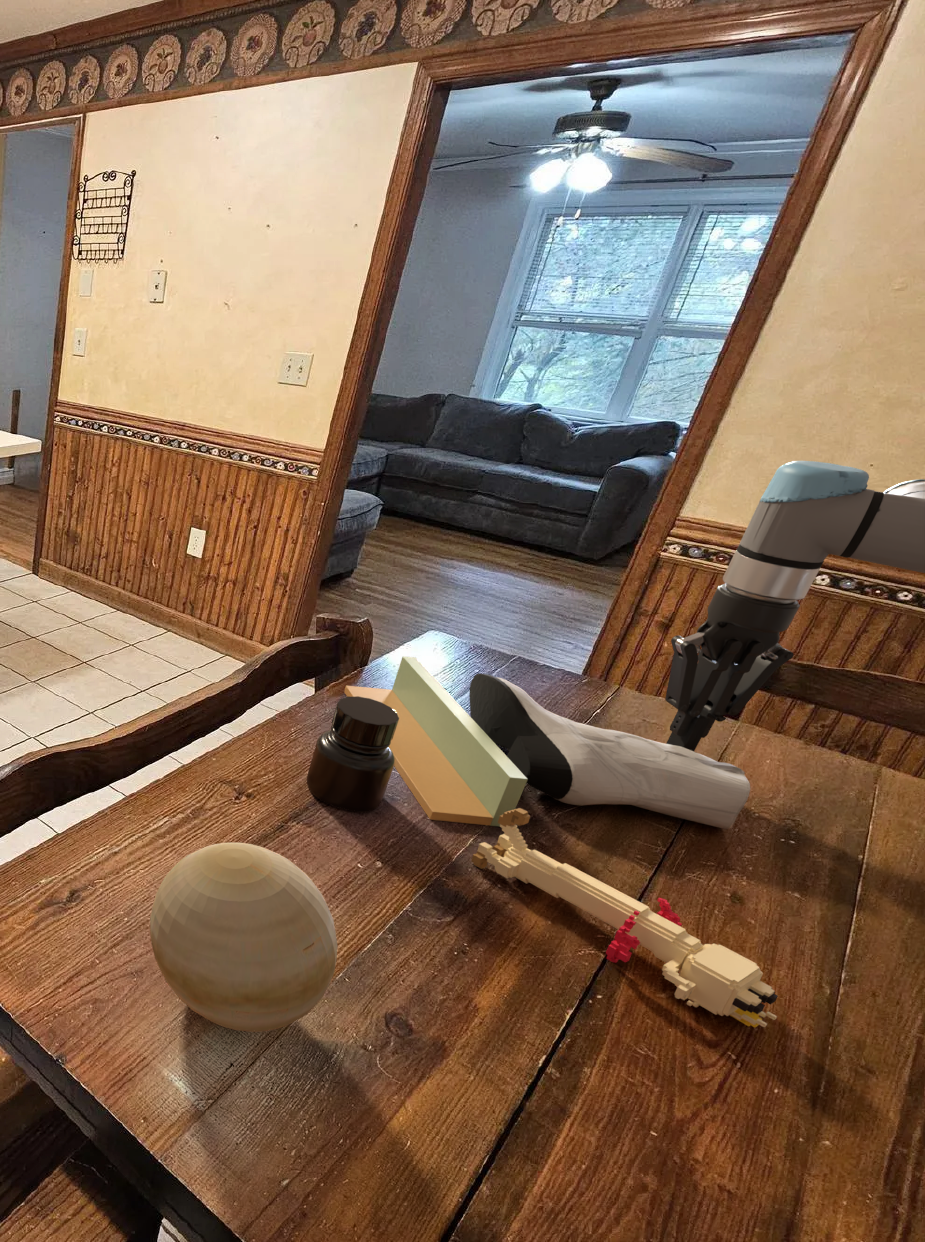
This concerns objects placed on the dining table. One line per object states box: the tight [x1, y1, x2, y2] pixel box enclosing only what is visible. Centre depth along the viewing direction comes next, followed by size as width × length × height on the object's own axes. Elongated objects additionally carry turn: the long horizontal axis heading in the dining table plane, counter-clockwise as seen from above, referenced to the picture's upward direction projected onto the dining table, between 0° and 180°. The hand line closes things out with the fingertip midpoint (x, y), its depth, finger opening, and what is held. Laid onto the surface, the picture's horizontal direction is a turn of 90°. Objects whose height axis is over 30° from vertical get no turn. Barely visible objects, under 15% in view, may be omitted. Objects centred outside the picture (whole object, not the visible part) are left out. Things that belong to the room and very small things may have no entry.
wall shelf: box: [343, 656, 528, 827], centre depth 108 cm, size 9×32×7 cm, turn 174°
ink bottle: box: [306, 696, 399, 813], centre depth 97 cm, size 10×9×12 cm
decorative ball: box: [149, 841, 339, 1033], centre depth 67 cm, size 15×15×15 cm
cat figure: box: [470, 807, 779, 1029], centre depth 78 cm, size 10×9×25 cm
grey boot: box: [468, 672, 751, 830], centre depth 106 cm, size 10×28×25 cm
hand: (675, 755), depth 106 cm, fingers closed
